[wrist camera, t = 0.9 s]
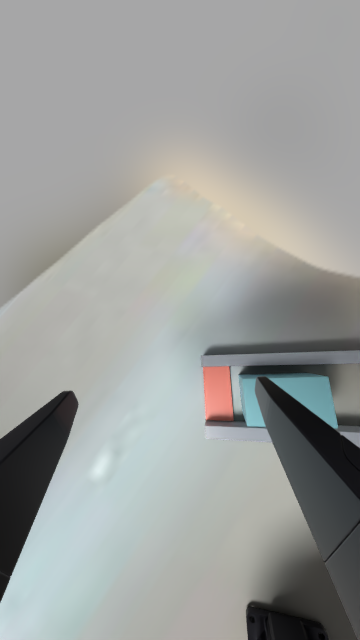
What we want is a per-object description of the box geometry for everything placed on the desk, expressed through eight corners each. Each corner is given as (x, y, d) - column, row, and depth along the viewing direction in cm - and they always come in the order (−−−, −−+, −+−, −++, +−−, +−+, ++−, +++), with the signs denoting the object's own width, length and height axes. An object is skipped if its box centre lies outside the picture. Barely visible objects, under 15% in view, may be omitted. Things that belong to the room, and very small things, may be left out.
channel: (488, 446, 16) (519, 456, 15) (206, 431, 21) (205, 438, 20) (457, 347, 18) (482, 346, 16) (202, 355, 23) (201, 355, 21)
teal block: (313, 412, 20) (338, 428, 15) (242, 411, 21) (247, 426, 17) (306, 372, 20) (328, 376, 16) (238, 374, 22) (242, 379, 18)
